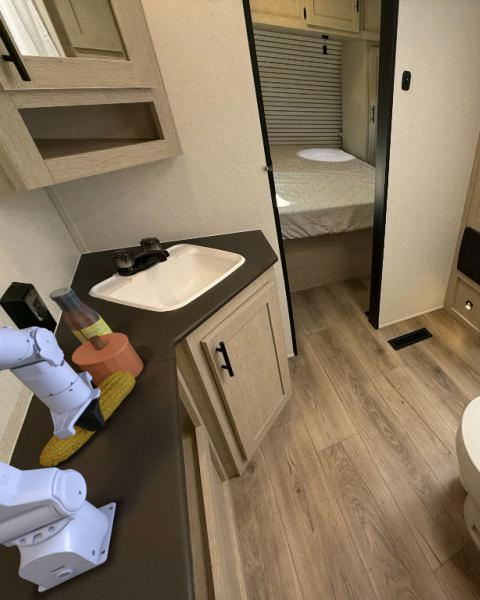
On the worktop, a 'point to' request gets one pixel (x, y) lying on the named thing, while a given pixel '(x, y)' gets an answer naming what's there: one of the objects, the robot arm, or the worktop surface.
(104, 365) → the pot
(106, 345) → the pot lid
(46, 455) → the food
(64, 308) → the sauce bottle
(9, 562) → the worktop surface
